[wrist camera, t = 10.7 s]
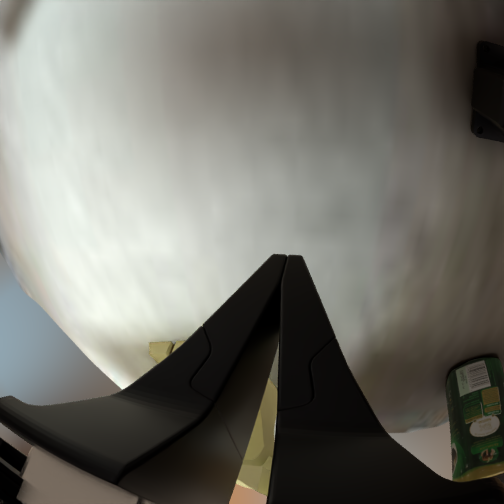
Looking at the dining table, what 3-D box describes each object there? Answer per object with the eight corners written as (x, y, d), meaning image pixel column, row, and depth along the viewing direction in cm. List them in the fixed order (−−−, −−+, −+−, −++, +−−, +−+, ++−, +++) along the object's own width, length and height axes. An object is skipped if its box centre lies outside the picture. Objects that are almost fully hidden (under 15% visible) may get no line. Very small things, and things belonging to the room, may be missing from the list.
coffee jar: (494, 383, 32) (508, 506, 18) (444, 397, 36) (448, 522, 21) (504, 346, 28) (529, 496, 13) (445, 363, 31) (455, 518, 17)
